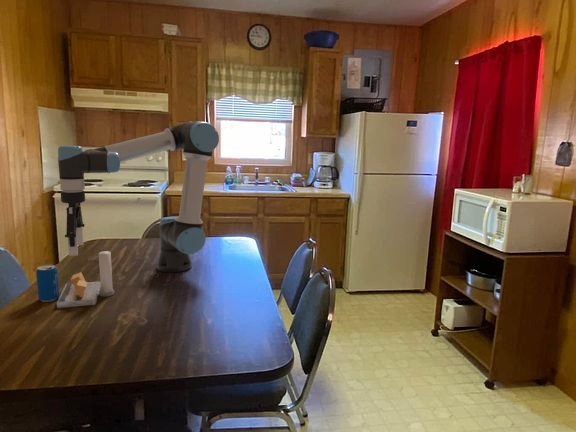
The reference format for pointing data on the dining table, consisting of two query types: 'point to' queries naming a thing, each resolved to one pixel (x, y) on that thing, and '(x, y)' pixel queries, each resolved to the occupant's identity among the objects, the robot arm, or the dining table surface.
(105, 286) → the white rounded smooth part
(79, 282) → the paddle
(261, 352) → the dining table surface
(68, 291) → the breaker plate
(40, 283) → the beverage can
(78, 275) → the paddle
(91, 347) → the dining table surface
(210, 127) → the robot arm
